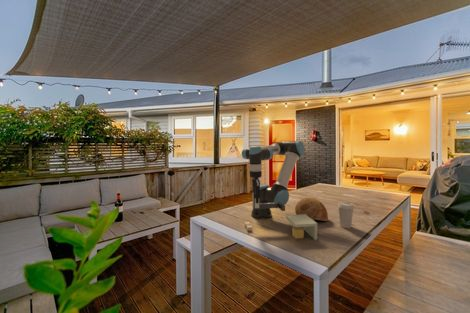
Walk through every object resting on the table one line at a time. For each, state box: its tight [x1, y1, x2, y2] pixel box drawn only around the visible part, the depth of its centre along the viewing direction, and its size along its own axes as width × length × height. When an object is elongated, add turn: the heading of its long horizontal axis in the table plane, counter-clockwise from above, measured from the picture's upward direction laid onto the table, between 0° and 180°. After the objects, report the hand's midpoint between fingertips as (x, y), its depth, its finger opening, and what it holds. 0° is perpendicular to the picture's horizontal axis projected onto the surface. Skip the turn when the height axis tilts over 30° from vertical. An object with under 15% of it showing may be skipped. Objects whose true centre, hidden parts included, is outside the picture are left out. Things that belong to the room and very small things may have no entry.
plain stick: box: [244, 221, 253, 232], centre depth 146 cm, size 10×3×3 cm, turn 9°
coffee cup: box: [337, 201, 355, 229], centre depth 146 cm, size 10×10×15 cm
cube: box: [291, 226, 305, 239], centre depth 133 cm, size 5×5×5 cm
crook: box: [251, 192, 286, 212], centre depth 142 cm, size 10×18×10 cm, turn 96°
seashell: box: [294, 197, 329, 222], centre depth 161 cm, size 21×20×15 cm
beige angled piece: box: [285, 214, 318, 241], centre depth 135 cm, size 16×13×10 cm
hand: (256, 206), depth 145 cm, fingers closed on crook, 4 cm apart
